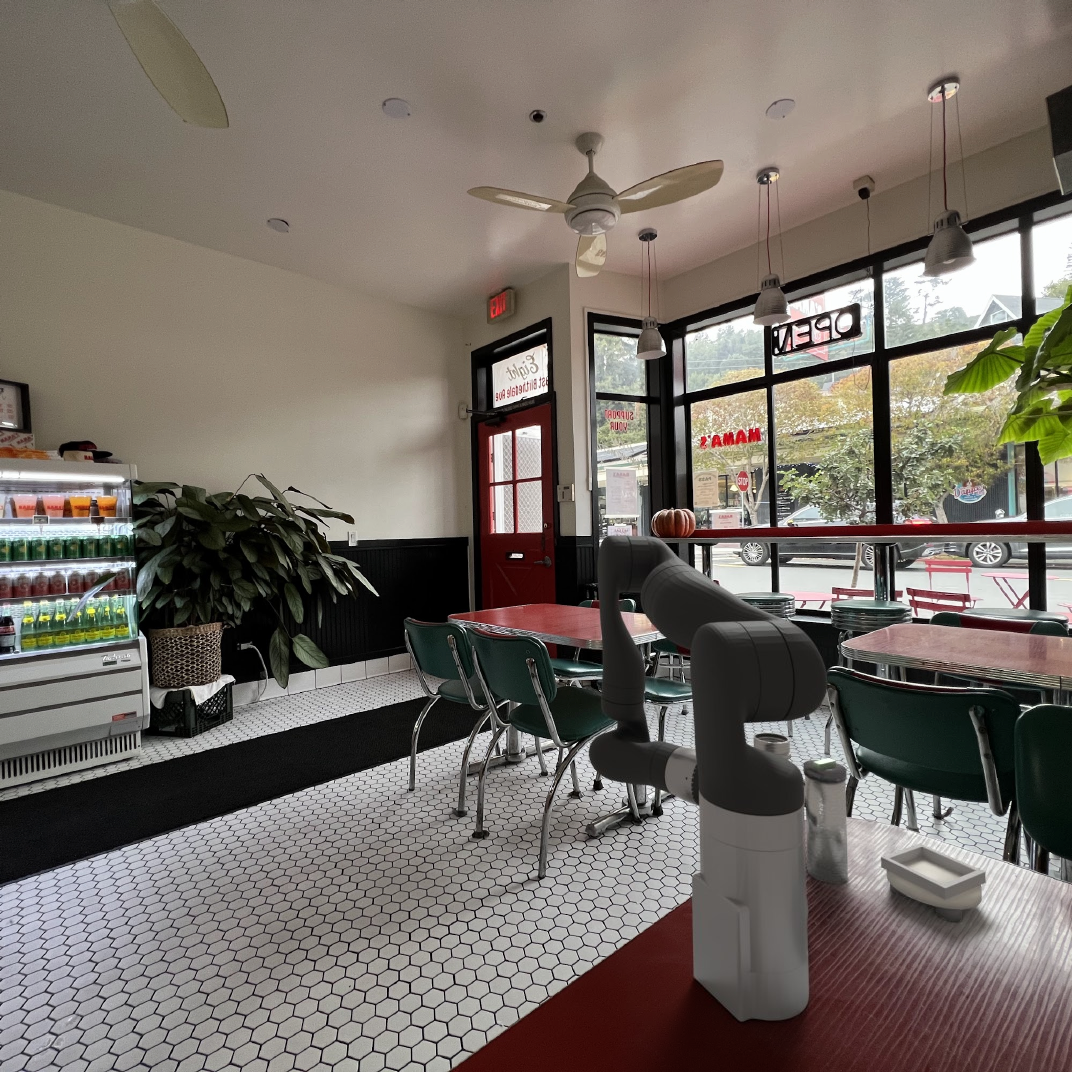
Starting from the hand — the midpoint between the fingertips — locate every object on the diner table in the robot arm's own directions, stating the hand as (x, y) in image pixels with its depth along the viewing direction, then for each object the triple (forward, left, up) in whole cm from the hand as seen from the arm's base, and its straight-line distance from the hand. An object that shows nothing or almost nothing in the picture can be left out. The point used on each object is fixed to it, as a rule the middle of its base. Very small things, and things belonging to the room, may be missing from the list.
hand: (816, 816), depth 74 cm
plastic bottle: (-14, -6, -7) cm, 16 cm away
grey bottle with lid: (0, -1, -7) cm, 7 cm away
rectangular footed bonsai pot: (+6, -10, -7) cm, 14 cm away
